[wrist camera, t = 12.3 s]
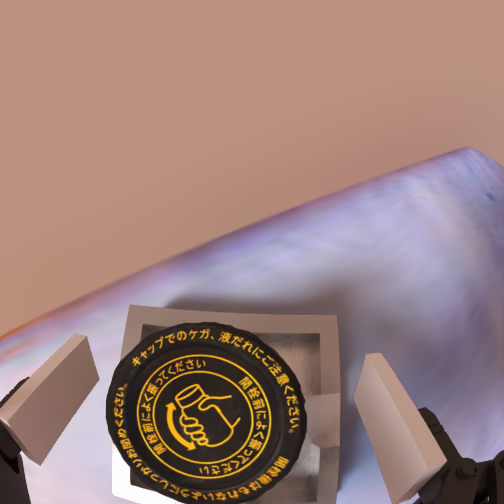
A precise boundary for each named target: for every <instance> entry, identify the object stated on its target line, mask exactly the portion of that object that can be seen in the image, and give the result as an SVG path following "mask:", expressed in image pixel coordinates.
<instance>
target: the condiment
mask: <svg viewBox="0 0 504 504" xmlns="http://www.w3.org/2000/svg"><path fill="white" fill-rule="evenodd" d="M305 402H306V401H305V398H304V396H303V393H302V392H301V385H300V383H299V381H298V379H297V377H296V375H295V374H294V372H293V371H292V370H291V368H290V366H288V364H287V363H286V362H285V360H284V359H283V358H282V357H281V356H280V355H279V353H278V352H277V351H276V350H275V349H274V348H272V347H270V346H269V345H267V344H265V343H264V342H263V341H262V340H261V339H260V338H259V337H258V336H257V335H254V334H252V333H251V332H249V331H246V330H242V329H238V328H235V327H233V326H231V325H226V324H220V323H217V322H200V323H188V322H187V323H182V324H178V325H174V326H171V327H168V328H166V329H164V330H161V331H158V332H156V333H152V334H149V335H147V336H146V337H145V338H144V339H143V340H142V341H141V342H139V343H138V344H137V345H136V346H135V347H134V348H133V349H132V350H131V351H130V352H129V353H128V354H127V355H126V356H125V357H124V358H123V359H122V360H121V361H120V362H119V364H118V366H117V367H116V369H115V371H114V374H113V377H112V381H111V384H110V387H109V390H108V394H107V398H106V421H107V425H108V431H109V434H110V436H111V438H112V440H113V443H114V444H115V446H116V448H117V449H118V451H119V453H120V455H121V457H122V458H123V460H124V461H125V463H126V464H127V465H128V466H129V467H130V469H131V470H132V471H133V472H134V473H135V475H136V476H137V477H138V478H139V479H140V481H141V482H143V483H144V484H145V485H146V486H148V487H150V488H151V489H153V490H155V491H156V492H158V493H160V494H161V495H163V496H166V497H169V498H171V499H174V500H176V501H178V502H180V503H184V504H240V503H245V502H250V501H254V500H256V499H258V498H259V497H260V496H261V495H263V494H264V493H265V492H267V491H268V490H270V489H272V488H274V486H275V485H276V484H277V483H278V482H279V481H280V480H282V479H283V478H284V477H285V476H286V475H288V474H289V472H290V471H291V469H292V468H293V466H294V464H295V462H296V461H297V460H298V459H299V453H300V452H301V449H302V445H303V443H304V440H305V437H306V432H307V413H306V411H305V407H304V405H305Z"/></svg>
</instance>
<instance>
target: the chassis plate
mask: <svg viewBox="0 0 504 504" xmlns="http://www.w3.org/2000/svg"><path fill="white" fill-rule="evenodd" d="M187 322H188V323H200V322H217V323H220V324H226V325H231V326H233V327H235V328H238V329H242V330H246V331H249V332H251V333H252V334H254V335H257V336H258V337H259V338H260V339H261V340H262V341H263V342H264V343H265V344H267V345H269V346H270V347H272V348H274V349H275V350H276V351H277V352H278V353H279V355H280V356H281V357H282V358H283V359H284V360H285V362H286V363H287V364H288V366H290V368H291V370H292V371H293V372H294V374H295V375H296V377H297V379H298V381H299V383H300V385H301V392H302V393H303V396H304V398H305V401H306V402H305V405H304V407H305V411H306V413H307V432H306V437H305V440H304V443H303V445H302V449H301V452H300V453H299V459H298V460H297V461H296V462H295V464H294V466H293V468H292V469H291V471H290V472H289V474H288V475H286V476H285V477H284V478H283V479H282V480H280V481H279V482H278V483H277V484H276V485H275V486H274V488H272V489H270V490H268V491H267V492H265V493H264V494H263V495H261V496H260V497H259V498H258V499H256V500H254V501H250V502H245V503H240V504H336V498H337V487H338V474H339V457H340V393H341V385H340V355H339V337H338V322H337V315H285V314H249V313H227V312H209V311H194V310H181V309H169V308H159V307H148V306H139V305H130V307H129V312H128V317H127V322H126V328H125V333H124V339H123V345H122V352H121V359H120V361H121V360H122V359H123V358H124V357H125V356H126V355H127V354H128V353H129V352H130V351H131V350H132V349H133V348H134V347H135V346H136V345H137V344H138V343H139V342H141V341H142V340H143V339H144V338H145V337H146V336H147V335H149V334H152V333H156V332H158V331H161V330H164V329H166V328H168V327H171V326H174V325H178V324H182V323H187ZM113 494H114V495H117V496H120V497H123V498H126V499H129V500H132V501H136V502H139V503H143V504H184V503H180V502H178V501H176V500H174V499H171V498H169V497H166V496H163V495H161V494H160V493H158V492H156V491H155V490H153V489H151V488H150V487H148V486H146V485H145V484H144V483H143V482H141V481H140V479H139V478H138V477H137V476H136V475H135V473H134V472H133V471H132V470H131V469H130V467H129V466H128V465H127V464H126V463H125V461H124V460H123V458H122V457H121V455H120V453H119V451H118V449H117V448H116V446H115V444H114V443H113Z"/></svg>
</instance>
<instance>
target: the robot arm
mask: <svg viewBox="0 0 504 504" xmlns="http://www.w3.org/2000/svg"><path fill="white" fill-rule="evenodd" d="M98 381H99V376H98V373H97V370H96V367H95V363H94V360H93V357H92V353H91V350H90V346H89V343H88V339H87V336H84V335H80V334H74V335H73V336H72V337H71V338H70V339H69V340H68V341H67V342H66V343H65V344H64V345H62V346H61V347H60V348H59V349H58V350H57V351H56V352H55V353H54V354H53V355H52V356H51V357H50V358H49V359H48V360H47V361H46V362H45V363H44V364H43V365H42V366H41V367H40V368H39V369H38V370H37V371H36V372H35V373H34V374H33V375H32V376H31V377H27V378H25V379H23V380H22V381H20V382H19V383H18V384H17V385H16V386H15V387H14V389H12V390H11V391H10V392H9V394H7V395H6V396H5V397H4V398H3V399H2V401H1V402H0V504H31V502H30V497H29V493H28V489H27V484H26V479H25V473H24V467H23V460H22V457H21V455H20V454H19V453H20V452H21V450H22V451H23V452H24V454H25V455H26V456H27V457H28V458H29V459H30V460H32V461H34V462H35V463H37V464H39V465H40V466H41V464H42V463H43V461H44V460H45V458H46V456H47V455H48V453H49V452H50V450H51V449H52V447H53V446H54V444H55V443H56V441H57V439H58V438H59V436H60V435H61V433H62V432H63V430H64V429H65V428H66V426H67V425H68V423H69V422H70V420H71V419H72V417H73V416H74V414H75V413H76V411H77V410H78V409H79V407H80V406H81V404H82V403H83V401H84V400H85V399H86V397H87V396H88V394H89V393H90V392H91V390H92V389H93V387H94V386H95V385H96V383H97V382H98ZM353 399H354V402H355V404H356V407H357V409H358V412H359V414H360V417H361V419H362V422H363V424H364V427H365V430H366V432H367V435H368V437H369V440H370V443H371V445H372V448H373V451H374V453H375V456H376V459H377V462H378V464H379V467H380V470H381V473H382V475H383V478H384V481H385V484H386V487H387V490H388V493H389V496H390V499H391V502H392V504H398V503H401V502H404V501H406V500H409V499H411V498H412V497H413V496H414V495H415V494H416V493H417V492H418V494H419V496H420V498H419V499H417V500H416V501H415V502H414V503H413V504H504V450H503V451H501V452H499V453H498V454H497V455H496V457H495V458H494V459H493V460H489V461H484V462H479V463H476V462H475V461H474V460H473V459H470V458H462V457H461V456H460V454H459V453H458V451H457V449H456V448H455V446H454V444H453V443H452V441H451V439H450V438H449V436H448V435H447V433H446V431H445V432H444V428H443V427H442V425H440V422H439V420H438V419H437V417H436V416H435V414H434V413H432V412H431V411H430V410H428V409H427V408H426V407H424V408H421V409H417V408H416V406H415V405H414V403H413V402H412V400H411V398H410V397H409V395H408V394H407V392H406V390H405V389H404V387H403V386H402V384H401V382H400V381H399V379H398V378H397V376H396V375H395V373H394V372H393V370H392V369H391V367H390V366H389V364H388V362H387V361H386V359H385V358H384V356H383V355H382V353H370V354H366V356H365V360H364V364H363V367H362V370H361V374H360V377H359V380H358V383H357V386H356V389H355V392H354V395H353ZM488 496H489V501H488Z"/></svg>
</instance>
